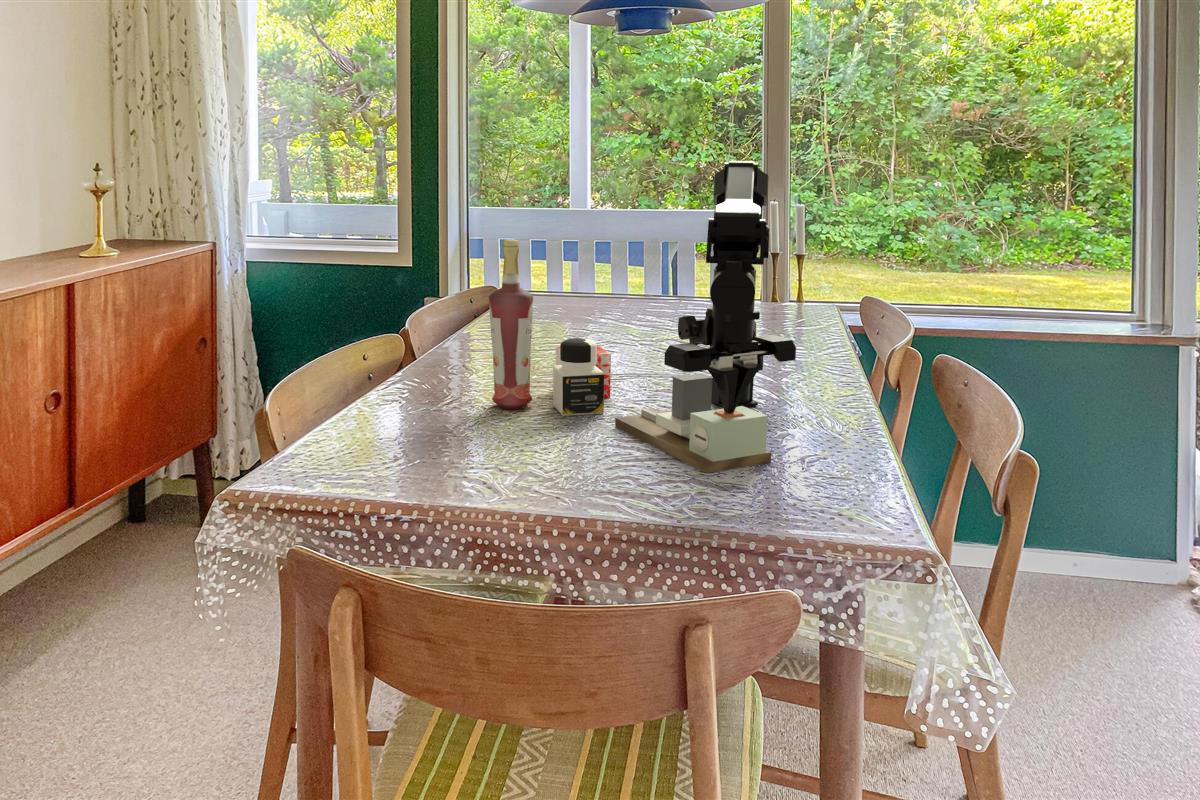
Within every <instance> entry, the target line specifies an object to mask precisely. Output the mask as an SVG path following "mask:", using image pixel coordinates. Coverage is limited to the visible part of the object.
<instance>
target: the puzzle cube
mask: <svg viewBox="0 0 1200 800" xmlns="http://www.w3.org/2000/svg"><path fill="white" fill-rule="evenodd" d="M611 357H612V354H611V352H609V351H607V350H606V349H604V348H603V347H601V346H599V345H598V344H597V360H596V365H595V366H596V367H597V368H599V369H600V370H601V371H602V372H603V373H604V399H605V398H607V399H608V398H611V375H612V373H611V369H612V368H611V364H612V363H611V362H612V361H611V359H612V358H611ZM555 365H561V364H560V347H559V346H557V347H555Z"/></svg>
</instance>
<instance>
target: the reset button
mask: <svg viewBox="0 0 1200 800" xmlns="http://www.w3.org/2000/svg"><path fill="white" fill-rule="evenodd" d="M715 414H716V415H718V416H721V417H723V418H725V419H727V418H734V417H741V416H743V413H740V412H737V411H735V410H734V412H733V413H726V412H725V411H724V410H721V411H715Z"/></svg>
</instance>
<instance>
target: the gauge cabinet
mask: <svg viewBox="0 0 1200 800" xmlns="http://www.w3.org/2000/svg"><path fill="white" fill-rule="evenodd" d="M721 410H724V408H719V409H718V408H717V409H711V410H710V411H702V412H695V413H690V442H689V450H690V451H692V452H694V453H696V454H698V455H700V456H702V457H704V458H706V459H708V460H710V461H712V462H714V461H721V460H727V459H733V458H739V457H745V456H751V455H758V454H764V453H766V450H767V435H768V419H769V418H768V415H766V414H764V413H762V412H759V411H756V410H755V409H752V408H749V407H747V406H746V407H744V406H739V407H736V409H735V411H737V412H740V413H743V416H741V417H734V418H727V419H725V418H723V417H721V416H718V415H716V414H715V411H721Z"/></svg>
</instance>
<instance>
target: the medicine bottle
mask: <svg viewBox="0 0 1200 800" xmlns="http://www.w3.org/2000/svg"><path fill="white" fill-rule="evenodd" d="M597 345H598V344H597V343H596V342H595V341H594V340H592V339H589V338H582V337H579V338H578V337H577V338H576V337H575V338H574V337H573V338H567V339H565V340H563V341H561V343H560V344H559V346H560V364H561V365H556V364H555V365H554V366H553V367H552V405H553V407H554V408H555V409H556V410H557V411H558V412H559V413H560V415H562V416H563V417H570V416H585V415H602V414H603V415H604V411H605V407H604V406H605V403H604V402H605V398H604V373H603V372H602V371H601V370H600V369H599V368H597V367H596V366H595V365H596V360H597Z"/></svg>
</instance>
